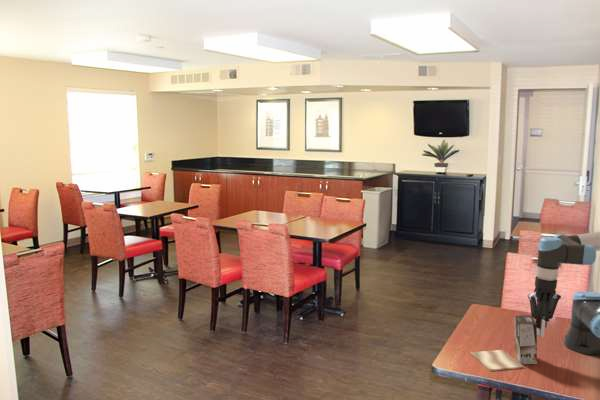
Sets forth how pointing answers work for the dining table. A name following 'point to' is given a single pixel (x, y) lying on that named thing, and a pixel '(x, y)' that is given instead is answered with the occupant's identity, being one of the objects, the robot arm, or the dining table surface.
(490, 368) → the beige board
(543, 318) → the robot arm
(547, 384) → the dining table surface
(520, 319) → the coffee box
